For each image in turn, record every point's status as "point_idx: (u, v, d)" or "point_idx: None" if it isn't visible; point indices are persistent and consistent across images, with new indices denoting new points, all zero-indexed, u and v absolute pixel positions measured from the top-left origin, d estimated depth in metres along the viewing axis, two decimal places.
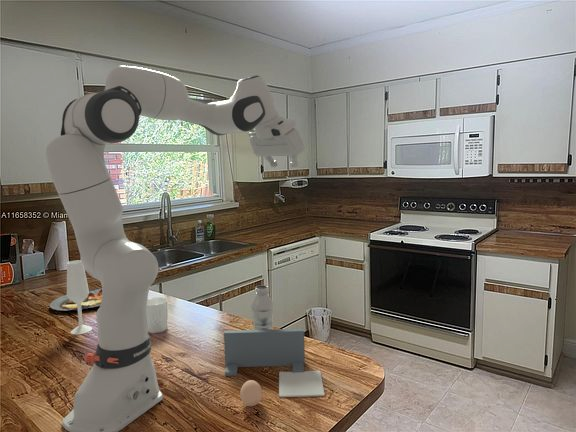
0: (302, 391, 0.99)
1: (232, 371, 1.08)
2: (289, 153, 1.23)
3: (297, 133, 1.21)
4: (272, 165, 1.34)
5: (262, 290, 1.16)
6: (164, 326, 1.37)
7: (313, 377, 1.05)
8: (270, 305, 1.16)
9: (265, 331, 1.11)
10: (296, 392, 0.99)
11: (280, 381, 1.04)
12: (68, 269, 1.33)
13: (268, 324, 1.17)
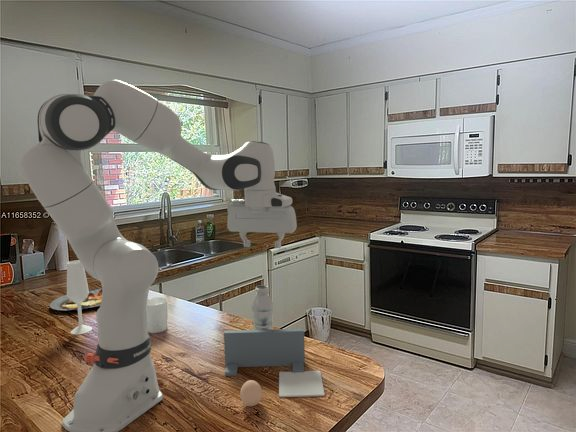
0: (302, 391, 0.99)
1: (232, 371, 1.08)
2: (281, 229, 1.12)
3: (294, 211, 1.14)
4: (246, 244, 1.17)
5: (262, 290, 1.16)
6: (164, 326, 1.37)
7: (313, 377, 1.05)
8: (270, 305, 1.16)
9: (265, 331, 1.11)
10: (296, 392, 0.99)
11: (280, 381, 1.04)
12: (68, 269, 1.33)
13: (268, 324, 1.17)
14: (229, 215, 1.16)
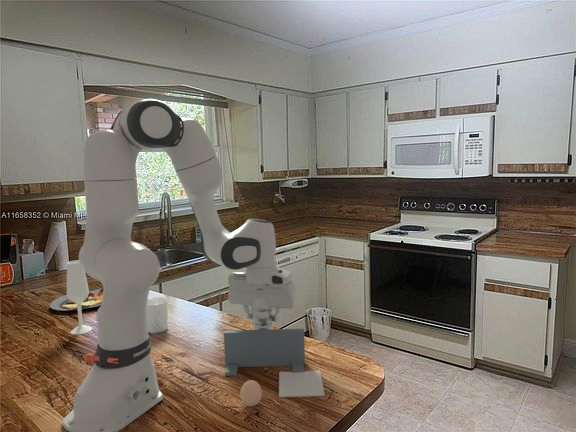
0: (302, 391, 0.99)
1: (232, 371, 1.08)
2: (281, 305, 1.15)
3: (294, 286, 1.16)
4: (249, 316, 1.19)
5: (262, 290, 1.16)
6: (164, 326, 1.37)
7: (313, 377, 1.05)
8: None
9: (265, 331, 1.11)
10: (296, 392, 0.99)
11: (280, 381, 1.04)
12: (68, 269, 1.33)
13: (268, 324, 1.17)
14: (230, 288, 1.19)
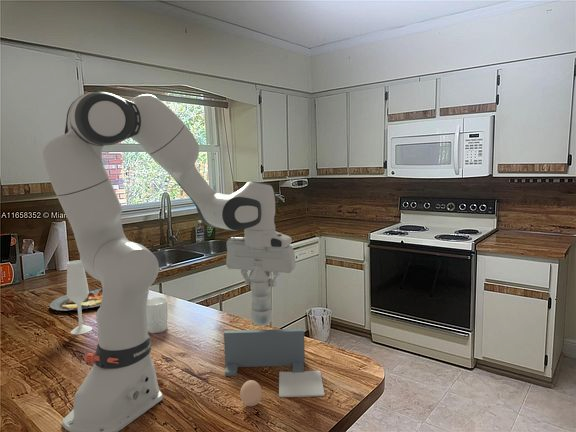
0: (302, 391, 0.99)
1: (232, 371, 1.08)
2: (279, 269, 1.13)
3: (293, 250, 1.15)
4: (247, 282, 1.17)
5: (260, 261, 1.14)
6: (164, 326, 1.37)
7: (313, 377, 1.05)
8: (269, 276, 1.15)
9: (265, 331, 1.11)
10: (296, 392, 0.99)
11: (280, 381, 1.04)
12: (68, 269, 1.33)
13: (267, 295, 1.16)
14: (228, 252, 1.17)
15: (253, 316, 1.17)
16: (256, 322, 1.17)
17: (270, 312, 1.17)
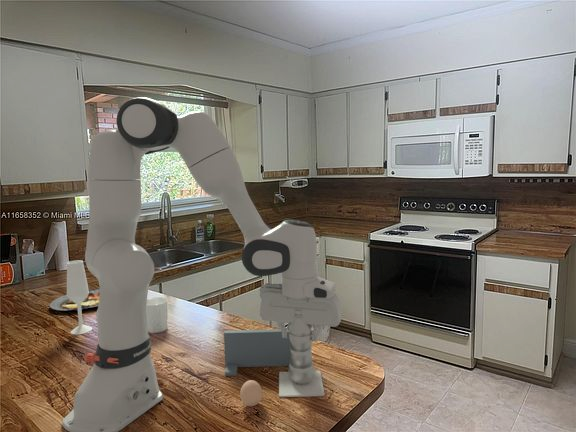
0: (302, 391, 0.99)
1: (232, 371, 1.08)
2: (324, 322, 0.97)
3: (338, 299, 0.99)
4: (285, 335, 1.01)
5: (301, 311, 0.98)
6: (164, 326, 1.37)
7: (313, 377, 1.05)
8: (311, 328, 0.99)
9: (265, 331, 1.11)
10: (296, 392, 0.99)
11: (280, 381, 1.04)
12: (68, 269, 1.33)
13: (308, 349, 1.00)
14: (262, 302, 1.01)
15: (292, 373, 1.01)
16: (296, 380, 1.01)
17: (312, 369, 1.01)
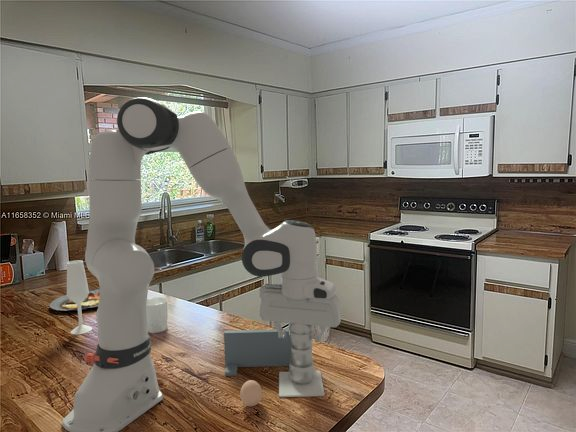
0: (302, 391, 0.99)
1: (232, 371, 1.08)
2: (323, 323, 0.97)
3: (338, 300, 0.99)
4: (281, 335, 1.02)
5: None
6: (164, 326, 1.37)
7: (313, 377, 1.05)
8: (312, 326, 1.00)
9: (265, 331, 1.11)
10: (296, 392, 0.99)
11: (280, 381, 1.04)
12: (68, 269, 1.33)
13: (309, 348, 1.01)
14: (262, 302, 1.01)
15: (293, 373, 1.01)
16: (296, 380, 1.01)
17: (312, 368, 1.02)
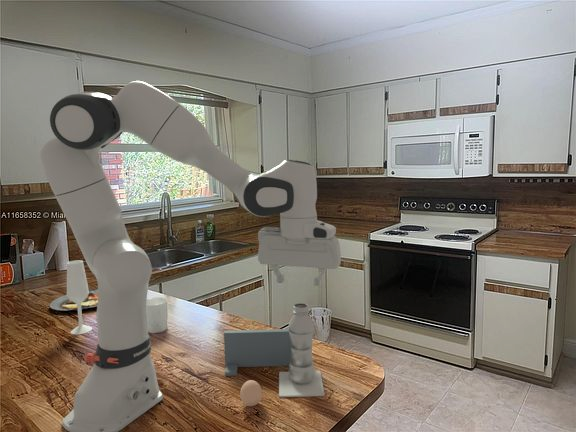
0: (302, 391, 0.99)
1: (232, 371, 1.08)
2: (323, 264, 0.95)
3: (338, 242, 0.97)
4: (280, 279, 1.00)
5: (303, 309, 1.00)
6: (164, 326, 1.37)
7: (313, 377, 1.05)
8: (312, 326, 1.00)
9: (265, 331, 1.11)
10: (296, 392, 0.99)
11: (280, 381, 1.04)
12: (68, 269, 1.33)
13: (309, 348, 1.01)
14: (261, 245, 0.99)
15: (293, 373, 1.01)
16: (296, 380, 1.01)
17: (312, 368, 1.02)
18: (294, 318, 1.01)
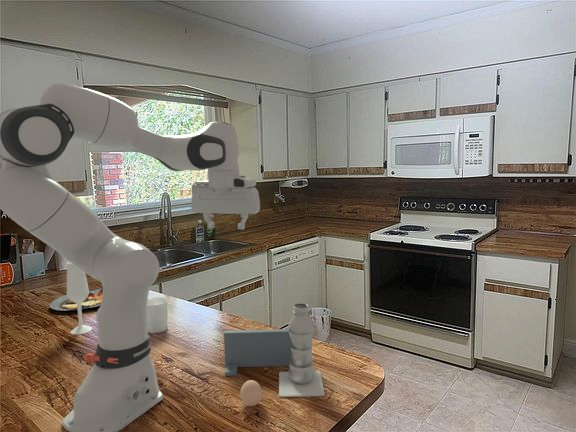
0: (302, 391, 0.99)
1: (232, 371, 1.08)
2: (243, 210, 1.13)
3: (257, 192, 1.14)
4: (210, 225, 1.17)
5: (302, 309, 0.99)
6: (164, 326, 1.37)
7: (313, 377, 1.05)
8: (312, 327, 1.00)
9: (265, 331, 1.11)
10: (296, 392, 0.99)
11: (280, 381, 1.04)
12: (68, 269, 1.33)
13: (309, 349, 1.01)
14: (193, 196, 1.17)
15: (293, 373, 1.01)
16: (296, 380, 1.01)
17: (312, 368, 1.02)
18: (294, 318, 1.01)
